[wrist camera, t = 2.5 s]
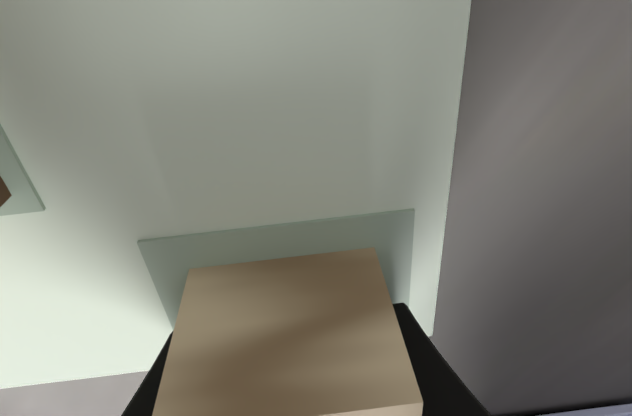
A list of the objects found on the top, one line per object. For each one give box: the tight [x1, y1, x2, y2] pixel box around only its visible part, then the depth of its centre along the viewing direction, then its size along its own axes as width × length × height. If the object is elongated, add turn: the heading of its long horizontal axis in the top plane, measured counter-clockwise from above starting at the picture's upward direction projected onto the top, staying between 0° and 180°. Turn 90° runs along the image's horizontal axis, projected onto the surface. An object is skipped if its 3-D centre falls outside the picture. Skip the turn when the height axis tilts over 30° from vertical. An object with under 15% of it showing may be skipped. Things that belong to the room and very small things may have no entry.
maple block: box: [152, 247, 423, 416], centre depth 10 cm, size 4×4×4 cm
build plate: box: [0, 0, 471, 389], centre depth 9 cm, size 16×14×1 cm
